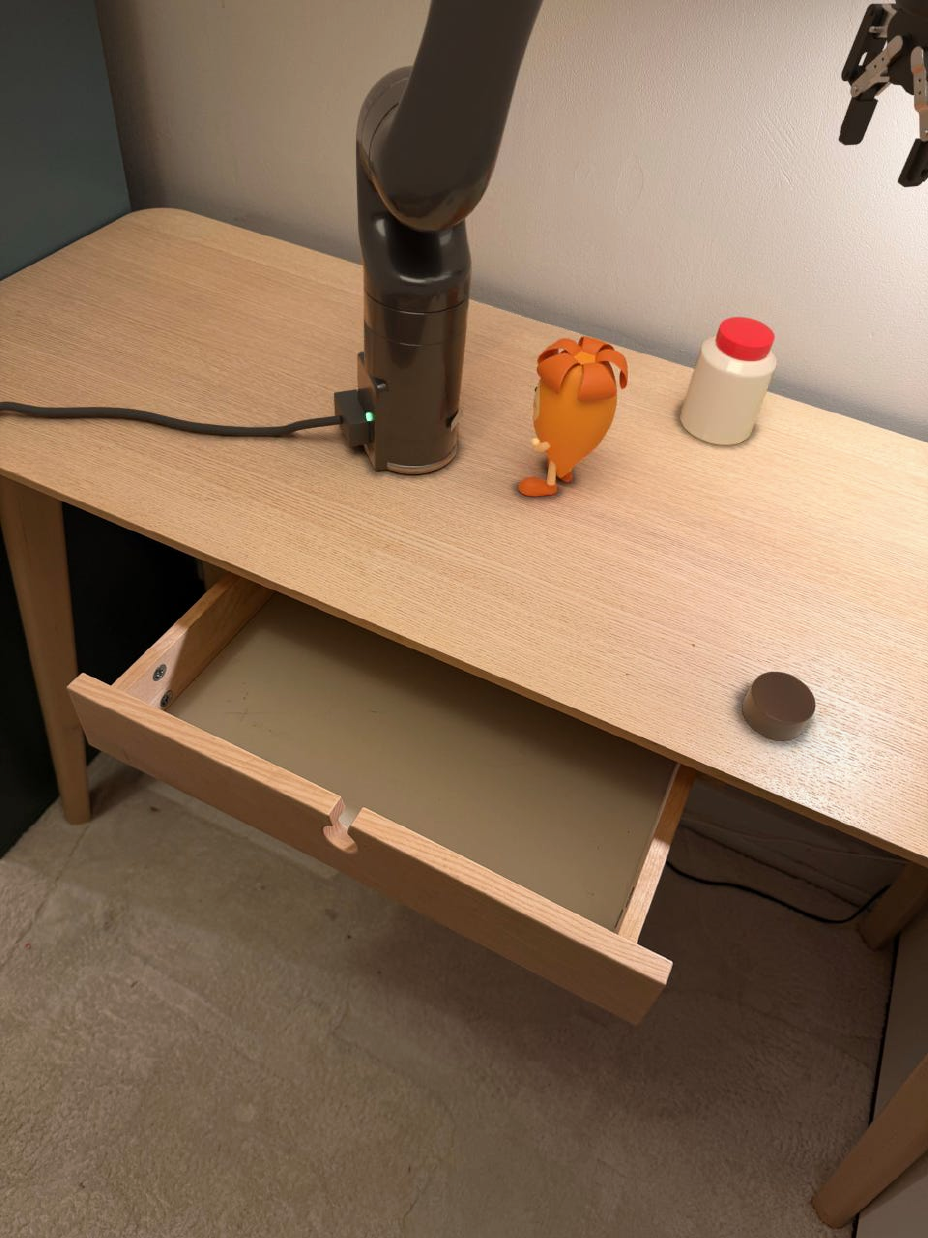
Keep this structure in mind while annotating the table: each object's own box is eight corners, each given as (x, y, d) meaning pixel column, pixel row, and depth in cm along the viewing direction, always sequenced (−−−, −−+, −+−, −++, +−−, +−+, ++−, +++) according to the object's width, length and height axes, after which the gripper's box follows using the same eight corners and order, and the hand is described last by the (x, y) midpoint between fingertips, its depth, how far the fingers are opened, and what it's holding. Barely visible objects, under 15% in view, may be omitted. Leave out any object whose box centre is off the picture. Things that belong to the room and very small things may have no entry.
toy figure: (558, 441, 94) (584, 308, 82) (624, 475, 91) (660, 342, 80) (491, 498, 87) (509, 362, 76) (560, 537, 84) (590, 402, 73)
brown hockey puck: (764, 748, 70) (774, 730, 69) (730, 698, 73) (739, 680, 72) (817, 731, 72) (828, 713, 70) (781, 683, 75) (791, 664, 73)
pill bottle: (761, 419, 99) (797, 328, 91) (736, 454, 95) (771, 362, 86) (696, 392, 101) (725, 302, 93) (668, 426, 97) (696, 334, 89)
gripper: (872, -86, 71) (797, 133, 83) (998, -32, 63) (894, 203, 75) (946, -84, 73) (863, 129, 86) (1078, -32, 65) (965, 196, 77)
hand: (877, 163), depth 80 cm, fingers open, 8 cm apart
